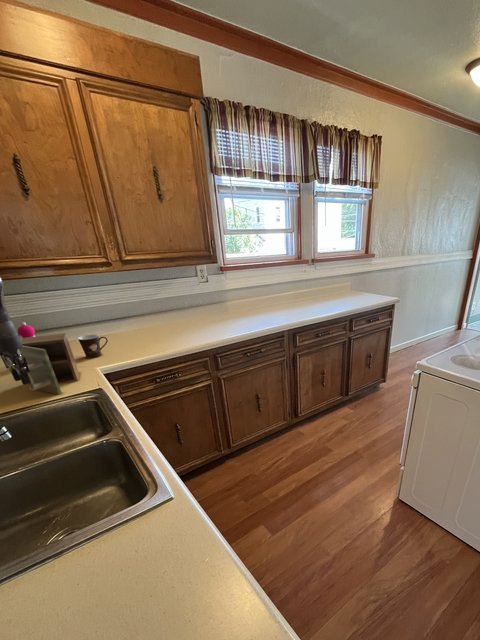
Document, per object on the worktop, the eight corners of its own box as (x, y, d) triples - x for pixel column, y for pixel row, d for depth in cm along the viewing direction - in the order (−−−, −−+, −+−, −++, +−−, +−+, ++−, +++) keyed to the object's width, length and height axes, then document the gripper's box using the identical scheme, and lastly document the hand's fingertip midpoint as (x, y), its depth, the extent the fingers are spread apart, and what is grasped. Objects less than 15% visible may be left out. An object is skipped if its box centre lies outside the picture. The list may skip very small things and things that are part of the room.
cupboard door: (41, 402, 118) (21, 356, 110) (16, 396, 122) (-4, 351, 114) (62, 393, 124) (45, 349, 116) (37, 388, 129) (20, 345, 121)
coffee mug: (83, 360, 158) (76, 340, 153) (85, 355, 165) (79, 335, 160) (109, 357, 162) (104, 337, 157) (111, 352, 169) (106, 333, 164)
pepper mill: (47, 360, 157) (31, 319, 148) (50, 364, 153) (34, 322, 144) (28, 364, 153) (11, 322, 144) (31, 368, 148) (13, 324, 139)
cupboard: (78, 381, 135) (63, 339, 127) (37, 388, 129) (19, 344, 121) (79, 373, 143) (65, 333, 135) (40, 379, 137) (23, 337, 129)
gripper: (26, 335, 107) (45, 382, 114) (7, 329, 113) (26, 374, 121) (-2, 341, 101) (20, 390, 109) (-21, 334, 108) (1, 381, 115)
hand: (23, 381), depth 115 cm, fingers open, 5 cm apart
